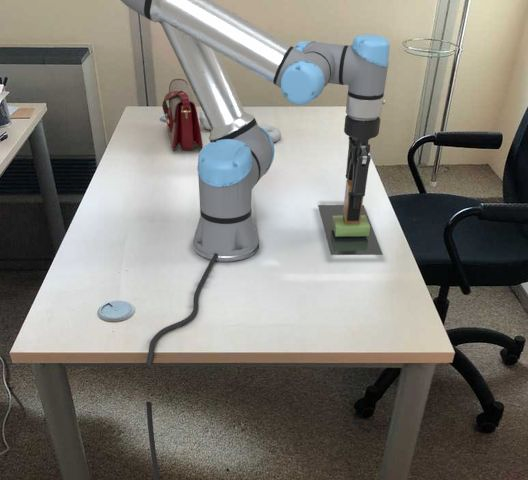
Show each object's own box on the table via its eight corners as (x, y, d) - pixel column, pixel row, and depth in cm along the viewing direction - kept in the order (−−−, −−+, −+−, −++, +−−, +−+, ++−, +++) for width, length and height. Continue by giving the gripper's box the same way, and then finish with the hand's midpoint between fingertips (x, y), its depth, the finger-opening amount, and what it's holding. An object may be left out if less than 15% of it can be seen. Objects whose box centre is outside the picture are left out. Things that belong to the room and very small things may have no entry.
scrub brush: (368, 236, 153) (375, 188, 146) (335, 236, 152) (340, 188, 145) (364, 224, 158) (370, 177, 150) (331, 224, 157) (336, 177, 150)
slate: (382, 260, 148) (383, 254, 148) (330, 260, 148) (330, 254, 147) (363, 210, 169) (363, 204, 168) (317, 210, 168) (317, 204, 167)
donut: (272, 132, 214) (245, 136, 210) (273, 122, 212) (245, 125, 208) (286, 142, 207) (257, 146, 203) (286, 132, 205) (258, 135, 201)
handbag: (163, 125, 217) (158, 70, 206) (194, 124, 219) (192, 69, 208) (169, 156, 195) (165, 97, 185) (204, 154, 197) (202, 96, 186)
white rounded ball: (205, 137, 216) (190, 117, 212) (219, 123, 219) (205, 103, 215) (217, 131, 210) (201, 111, 206) (231, 117, 213) (216, 96, 209)
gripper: (388, 129, 132) (373, 232, 146) (373, 103, 145) (360, 200, 159) (352, 129, 131) (340, 232, 146) (339, 103, 145) (330, 200, 159)
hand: (351, 215), depth 153 cm, fingers closed on scrub brush, 4 cm apart
